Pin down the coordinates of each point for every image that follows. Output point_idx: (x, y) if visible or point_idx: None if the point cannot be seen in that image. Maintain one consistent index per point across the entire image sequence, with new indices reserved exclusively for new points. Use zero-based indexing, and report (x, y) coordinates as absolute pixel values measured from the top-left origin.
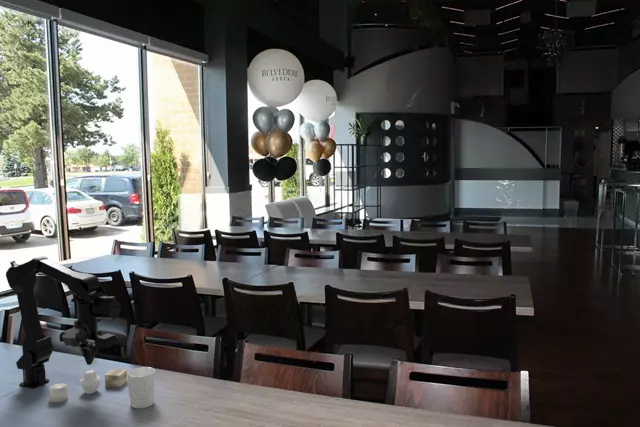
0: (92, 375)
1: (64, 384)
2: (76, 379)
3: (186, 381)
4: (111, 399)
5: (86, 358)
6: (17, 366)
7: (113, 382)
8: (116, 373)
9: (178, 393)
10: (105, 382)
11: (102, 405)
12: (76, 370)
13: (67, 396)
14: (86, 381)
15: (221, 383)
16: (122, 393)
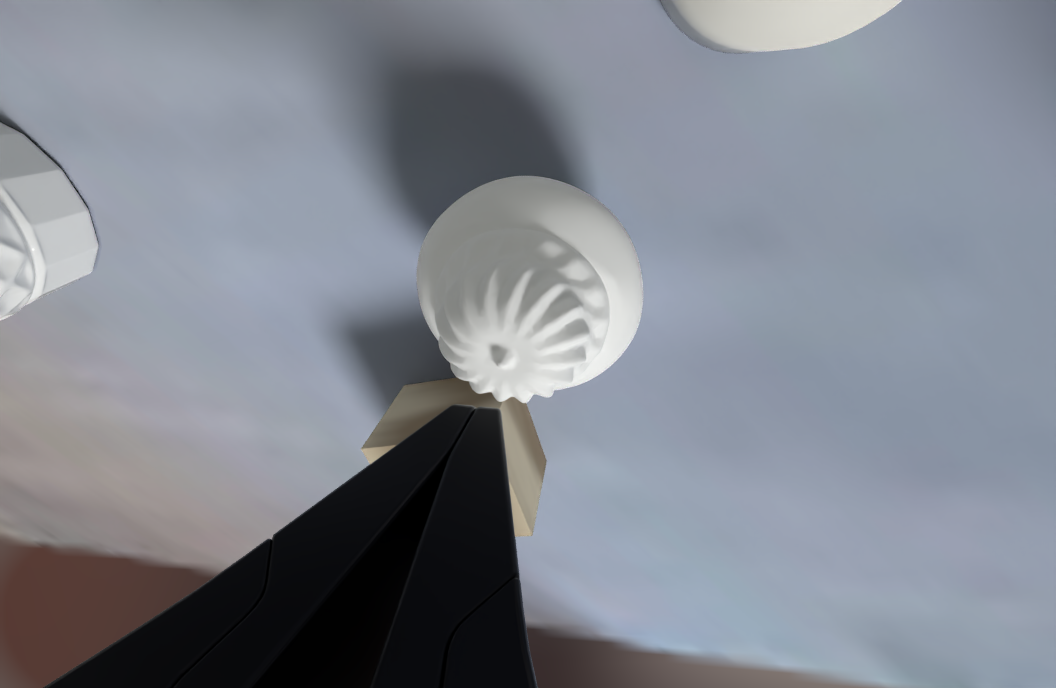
0: (444, 308)
1: (764, 17)
2: (870, 419)
3: (173, 517)
4: (254, 180)
5: (438, 490)
6: None
7: (437, 400)
8: None
9: (48, 398)
10: None
11: (192, 29)
12: (981, 549)
13: (668, 10)
14: (483, 212)
15: (45, 523)
16: (292, 304)
